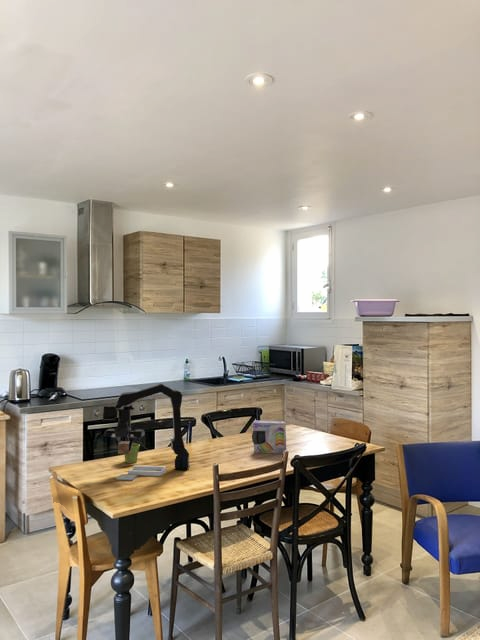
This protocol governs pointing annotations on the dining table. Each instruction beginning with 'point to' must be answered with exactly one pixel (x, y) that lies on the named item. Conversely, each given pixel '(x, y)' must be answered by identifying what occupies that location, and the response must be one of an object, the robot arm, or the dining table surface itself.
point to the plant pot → (132, 454)
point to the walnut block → (123, 447)
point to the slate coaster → (126, 477)
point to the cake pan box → (269, 436)
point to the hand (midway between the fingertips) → (124, 450)
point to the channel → (151, 469)
